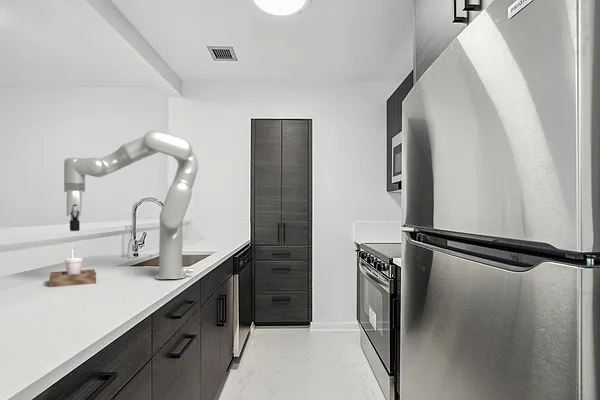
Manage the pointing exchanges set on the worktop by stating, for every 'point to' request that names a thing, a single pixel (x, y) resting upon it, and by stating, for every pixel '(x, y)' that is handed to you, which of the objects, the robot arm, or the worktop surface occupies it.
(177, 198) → the robot arm
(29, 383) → the worktop surface
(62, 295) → the worktop surface
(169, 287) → the worktop surface
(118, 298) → the worktop surface
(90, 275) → the cutout board
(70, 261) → the smoothie
